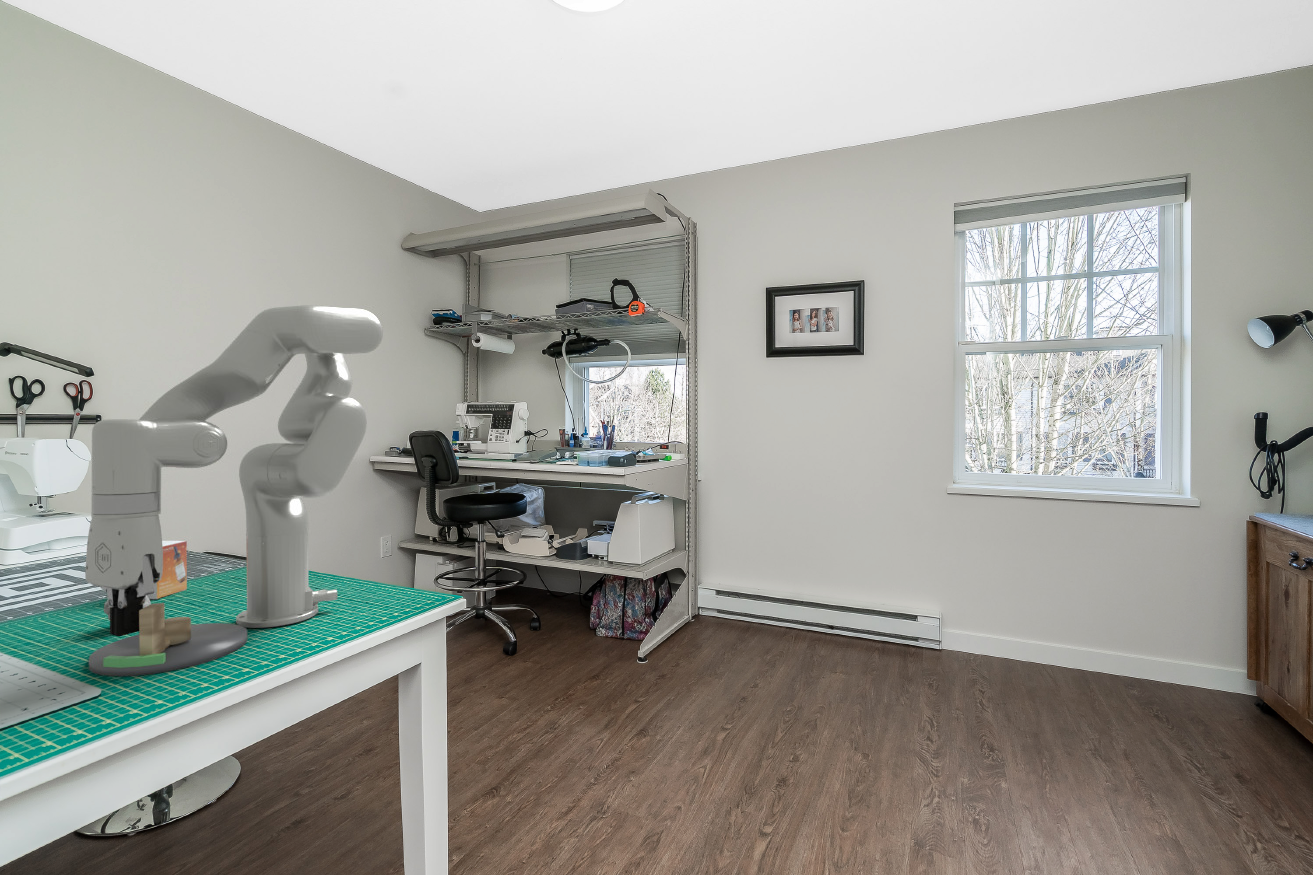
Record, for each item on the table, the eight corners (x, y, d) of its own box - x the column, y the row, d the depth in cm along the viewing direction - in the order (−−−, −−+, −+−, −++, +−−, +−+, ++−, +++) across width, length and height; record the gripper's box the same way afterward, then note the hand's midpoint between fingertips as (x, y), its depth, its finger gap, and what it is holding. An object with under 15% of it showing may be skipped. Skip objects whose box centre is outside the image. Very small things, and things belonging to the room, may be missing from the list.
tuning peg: (163, 637, 95) (162, 592, 95) (196, 634, 96) (195, 590, 96) (127, 660, 85) (126, 611, 85) (164, 657, 86) (163, 608, 86)
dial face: (241, 622, 107) (241, 609, 107) (253, 654, 92) (253, 638, 92) (95, 647, 95) (94, 632, 95) (81, 688, 80) (81, 670, 80)
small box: (156, 600, 121) (156, 547, 120) (128, 599, 121) (128, 547, 120) (188, 589, 129) (187, 540, 128) (162, 589, 129) (161, 540, 128)
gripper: (64, 505, 86) (63, 634, 86) (127, 511, 80) (127, 648, 80) (126, 500, 93) (126, 619, 93) (189, 505, 87) (188, 631, 87)
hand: (126, 632), depth 87 cm, fingers closed
